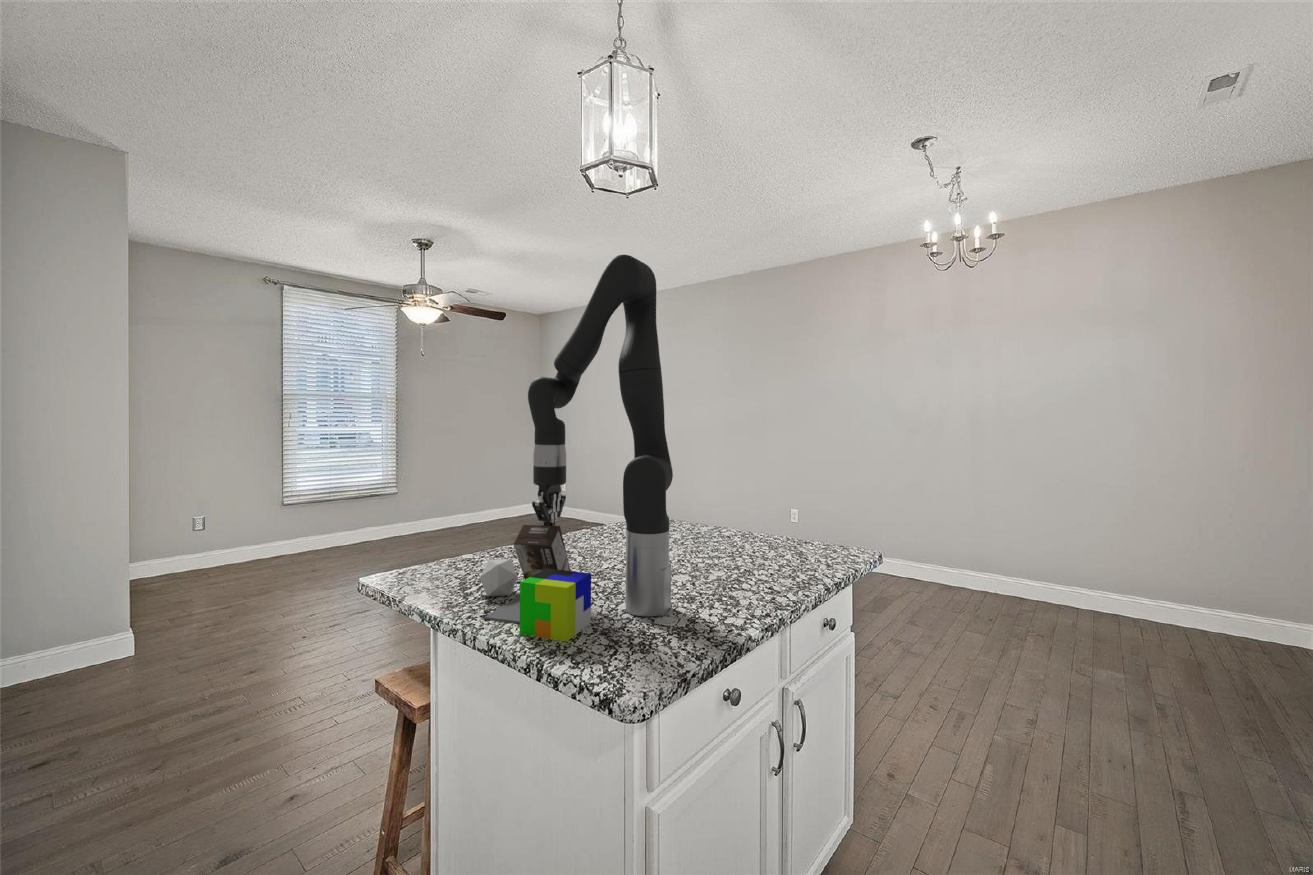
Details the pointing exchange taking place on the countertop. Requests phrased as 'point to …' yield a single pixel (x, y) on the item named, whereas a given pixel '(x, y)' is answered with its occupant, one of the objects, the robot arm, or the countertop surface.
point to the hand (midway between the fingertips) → (549, 537)
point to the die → (498, 577)
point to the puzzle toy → (555, 604)
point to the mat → (507, 612)
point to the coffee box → (540, 549)
